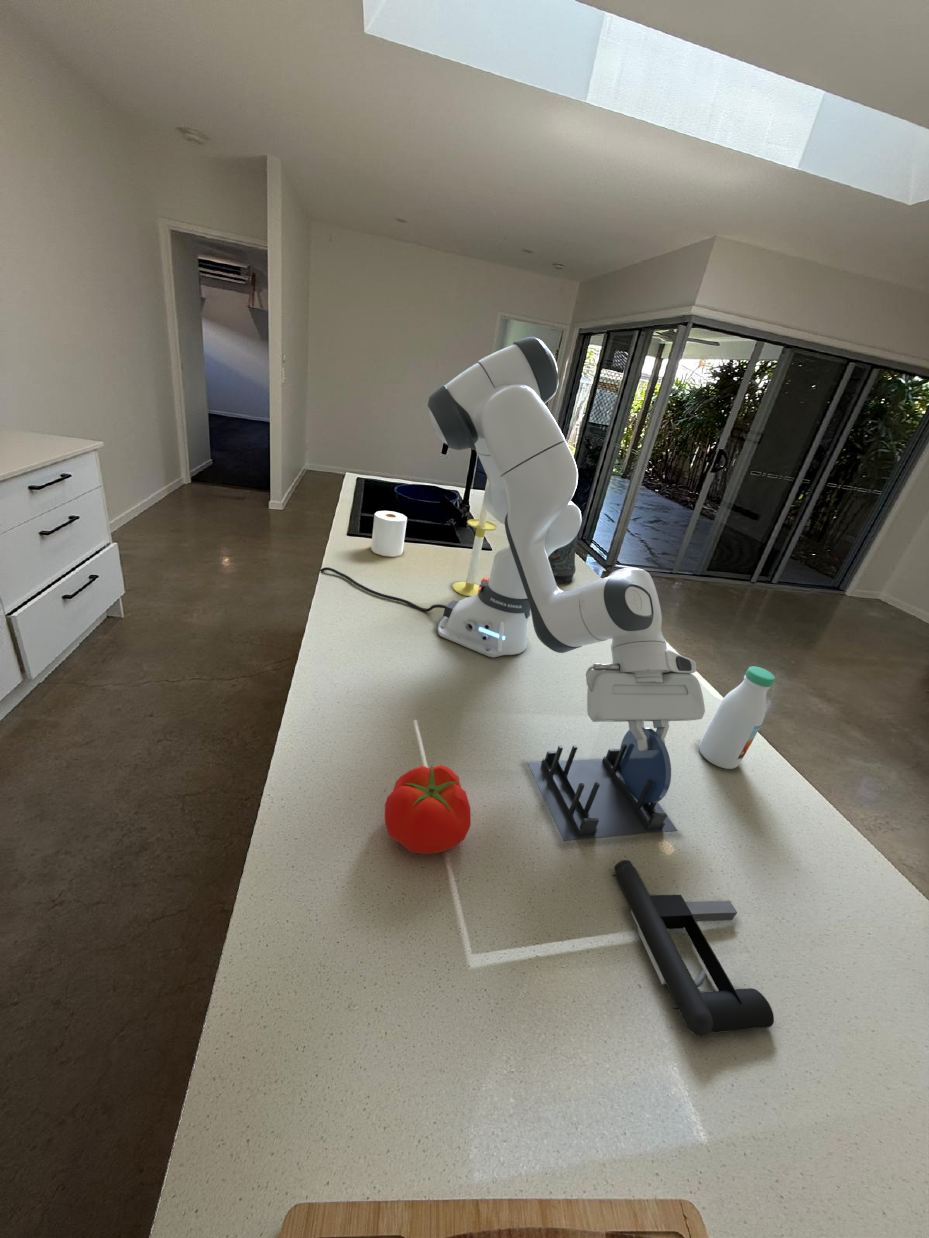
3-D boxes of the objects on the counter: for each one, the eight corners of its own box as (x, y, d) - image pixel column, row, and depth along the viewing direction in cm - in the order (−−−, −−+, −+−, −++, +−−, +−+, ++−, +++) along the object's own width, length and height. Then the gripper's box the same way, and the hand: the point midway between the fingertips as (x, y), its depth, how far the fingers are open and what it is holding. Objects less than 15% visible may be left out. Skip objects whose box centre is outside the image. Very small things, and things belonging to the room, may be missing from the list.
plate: (611, 763, 90) (635, 711, 84) (616, 763, 90) (640, 711, 85) (647, 819, 80) (676, 764, 74) (652, 819, 80) (682, 764, 75)
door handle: (707, 858, 74) (610, 858, 70) (812, 1017, 57) (691, 1029, 52) (697, 873, 75) (601, 874, 71) (796, 1032, 58) (678, 1045, 54)
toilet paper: (366, 552, 163) (370, 516, 157) (377, 543, 172) (380, 508, 167) (397, 559, 162) (401, 523, 157) (405, 549, 171) (410, 515, 166)
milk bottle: (721, 774, 96) (769, 687, 87) (689, 746, 102) (730, 663, 93) (746, 765, 99) (794, 681, 90) (714, 739, 105) (756, 658, 96)
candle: (468, 580, 157) (493, 457, 141) (492, 593, 152) (520, 467, 135) (445, 585, 151) (468, 457, 134) (468, 599, 145) (495, 467, 128)
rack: (525, 765, 88) (536, 730, 85) (625, 761, 94) (639, 728, 90) (562, 844, 75) (577, 806, 71) (675, 833, 80) (694, 798, 77)
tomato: (435, 887, 65) (446, 842, 61) (362, 833, 70) (368, 789, 66) (484, 825, 75) (496, 783, 71) (417, 782, 80) (425, 741, 76)
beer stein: (576, 587, 169) (599, 514, 158) (520, 577, 168) (538, 503, 157) (568, 568, 184) (588, 501, 173) (516, 559, 183) (532, 491, 171)
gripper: (595, 659, 79) (605, 751, 75) (703, 662, 84) (718, 747, 81) (575, 666, 84) (584, 752, 80) (678, 669, 90) (690, 749, 86)
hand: (652, 750), depth 81 cm, fingers closed on plate, 1 cm apart
